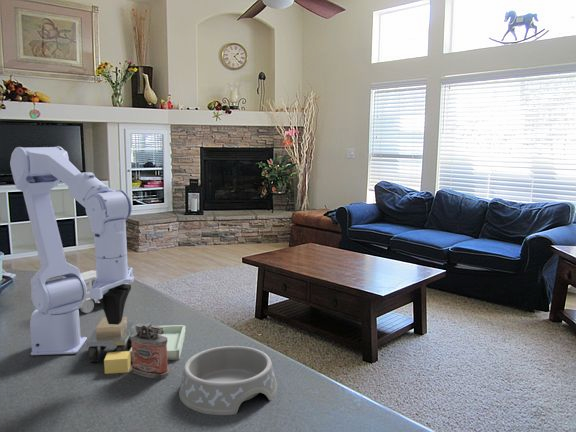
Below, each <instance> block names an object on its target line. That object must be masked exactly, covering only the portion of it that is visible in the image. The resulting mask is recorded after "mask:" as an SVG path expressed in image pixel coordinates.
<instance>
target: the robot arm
mask: <svg viewBox="0 0 576 432" xmlns="http://www.w3.org/2000/svg"><path fill="white" fill-rule="evenodd" d="M9 164H10V165H9V166H10V171H11V174H12V179H13V182H14V185H15V189H17V190H18V191H21V192H22V193H23V198H24V202H25V206H26V211H27V214H28V219H29V222H30V227H31V232H32V235H33V240H34V243H35V247H36V251H37V252H36V253H37V256H38V259H39V263H40V268H39V269H38V270H37V271H36V272H35V273H34V275H33V276H32V277H31V278H30V288H31V292H30V295H31V296H30V297H31V302H32V304H33V306H34V308H35V309H34V310H33V312H32V314H31V316H30V321H29V330H30V343H31V352H30V355H31V356H41V355H42V356H45V355H72V354H74V355H75V354H77V353H78V352H79V351H80V349H81V348H82V347H83V346H84V344H85V342H87V341H88V337H87V336H81V325H80V310H79V309H80V308H79V307H80V306H82V304H81V302H82V301H83V300H84V299H85V297H86V293H87V288H86V284H85V282H84V280H83V279H82V277H81V274H80V273H81V270H80V268H78V267H77V266H75V265H73V264H71V263H69V262H67V260H66V255H65V252H64V247H63V243H62V239H61V234H60V231H59V227H58V222H57V218H56V215H55V211H54V207H53V202H52V198H51V194H50V193H51V190H52V189H53V188H55V187H57V186H58V185H59V184H60V182H62V183H63V184H64V185H66V186H67V187H68V188H67V190H68V191H67V192H68V194H69V195H70V197H72V198H73V199H74V200H76V201H77V202H78V203H79V204H80V205H81V206H82V207H84V208H85V214H86V217H87V219H88V222H89V226H90V230H91V232H92V233H93V237H94V238H93V239H94V240H93V241H94V254H95V270H96V277H97V278H96V279H95V281H94V284H93V286H92V287H91V288H90V289H89V293H90V299H98V300H99V302H100V303H99V304H100V306H101V307H102V310H103V312H104V314H105V317H106V318H107V321H108V324H116V325H118V324H120V323H121V321H122V317H124V316H123V315H124V310H125V306H126V302H127V299H128V296H129V294H130V292H131V289H132V284H130V283H133V282H134V281H135V277H134V273H133V272H134V271H133V270H134V269H133V267H129V265H128V245H127V243H128V242H127V226H126V224H127V222H126V221H127V220H128V219H129V218H130V217H131V214H132V209H133V207H132V205H133V204H132V202H131V198H130V197H129V195H128V194H127V192H126V191H125V190H123V189H117V190H115V189H111V188H110V187H109V186H108V185H107V184H105V183H103V182H102V180H99V179H98V178H97V177H96V176H95V174H94V173H93V172H91V171H90V172H89V171H88V172H86V171H85V172H81V171H80V170H79V169H78V168H77V167H76V166H75V165H74V164H73V163H72V162H71V161H70V158H69V153H68V151H67V150H65V149H64V148H63V147H62V146H59V145H57V146H56V145H55V146H49V147H48V146H42V147H35V146H34V147H22V146H18V147H17V146H16V147H15V148H14V150H13V151H12V153H11V156H10V161H9ZM59 277H61V278H59ZM63 277H65V278H63ZM55 278H57V279H55ZM48 280H49V281H48ZM124 283H129V284H124Z"/></svg>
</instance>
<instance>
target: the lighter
mask: <svg viewBox="0 0 576 432" xmlns="http://www.w3.org/2000/svg"><path fill="white" fill-rule="evenodd" d="M160 326H161V325H153V324H152V323H151V322H147V323H145V324H143V323H137V324H136V325H135V331H136V332H134V333H133V334H131V335H130V339H131V341H132V346H131V347H132V361H131V362H132V366H131V371H132V373H133V374H136V375H138V376H142V377H145V378H152V379H161V380H162V379H165V378H167V377H168V376H169V375H170V374H169V368H168V360H167V342H168V340H167V337H164V336H161V334H163V333H164V329H163V328H162V327H160Z"/></svg>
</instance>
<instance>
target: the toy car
mask: <svg viewBox="0 0 576 432" xmlns="http://www.w3.org/2000/svg"><path fill="white" fill-rule="evenodd" d="M80 274H81V277H82V279H83V280H84V282H85V284H86V288H87V293H86V297H85V299H84V300H83V301H82V302H81V304H82V306H80V307H79V309H80V310H79V311H81V312H82V313H84V314H89V313H92V311H93V310H94V307H95V304H101V303H100V302H99V300H98V299H90V293H89V289H90V288H91V287H92V286H93V284H94V281H95V279H96V278H97V277H96V269H95V270H93V269H91V270H87V271H85V272H80ZM62 278H65V277H64V276H62ZM124 284H130V283H124Z"/></svg>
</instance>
